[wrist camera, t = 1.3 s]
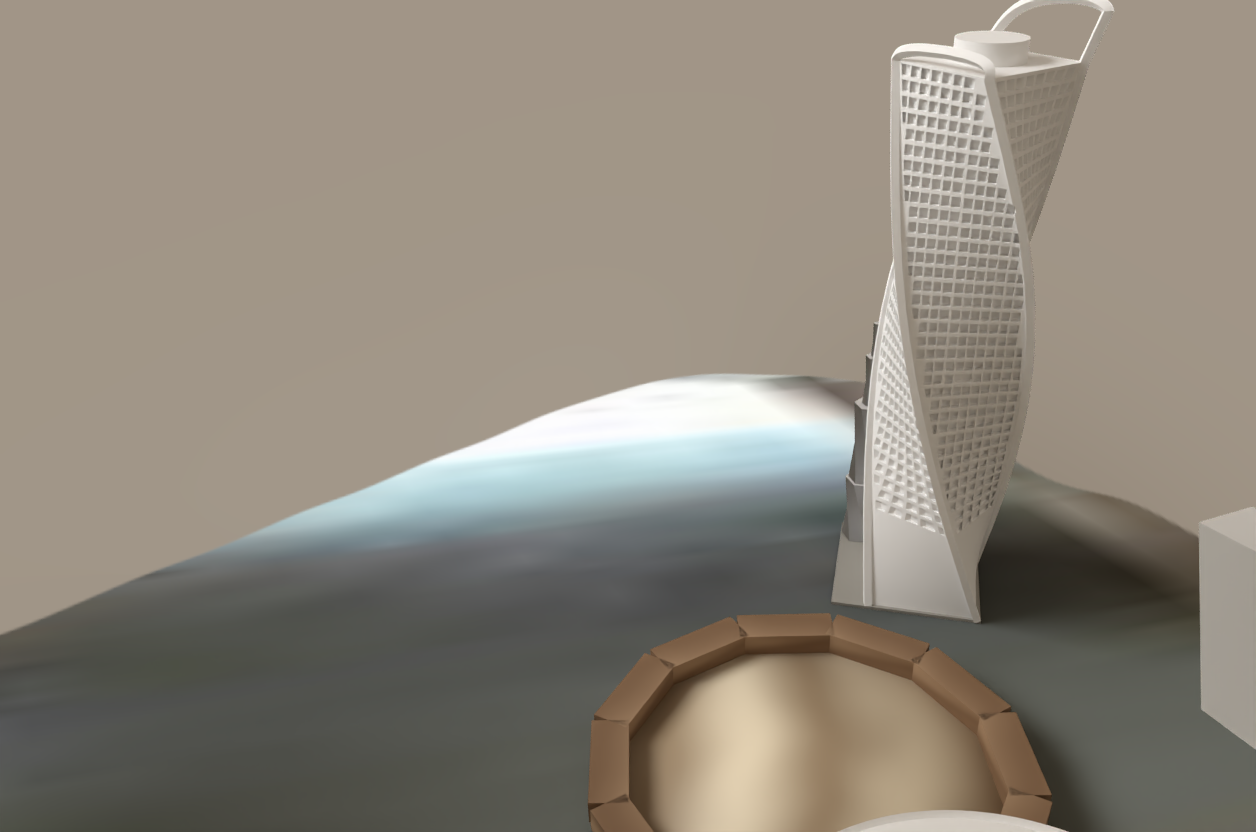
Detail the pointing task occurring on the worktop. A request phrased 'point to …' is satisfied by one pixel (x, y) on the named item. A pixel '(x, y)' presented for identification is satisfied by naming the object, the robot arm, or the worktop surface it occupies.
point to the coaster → (803, 733)
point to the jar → (950, 823)
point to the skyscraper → (953, 314)
